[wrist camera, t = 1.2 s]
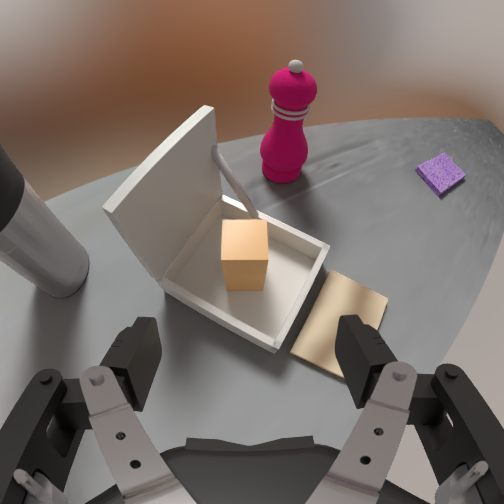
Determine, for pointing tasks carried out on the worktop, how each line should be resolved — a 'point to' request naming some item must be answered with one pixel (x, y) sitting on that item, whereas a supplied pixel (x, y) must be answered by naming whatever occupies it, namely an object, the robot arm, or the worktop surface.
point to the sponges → (440, 173)
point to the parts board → (335, 319)
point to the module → (244, 254)
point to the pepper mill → (287, 123)
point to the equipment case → (210, 236)
